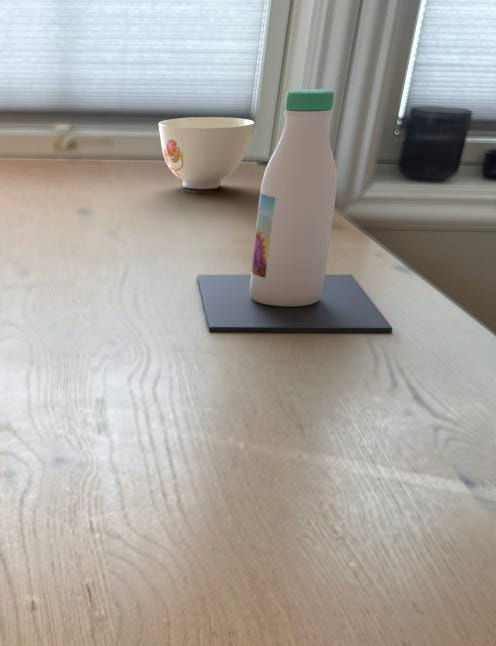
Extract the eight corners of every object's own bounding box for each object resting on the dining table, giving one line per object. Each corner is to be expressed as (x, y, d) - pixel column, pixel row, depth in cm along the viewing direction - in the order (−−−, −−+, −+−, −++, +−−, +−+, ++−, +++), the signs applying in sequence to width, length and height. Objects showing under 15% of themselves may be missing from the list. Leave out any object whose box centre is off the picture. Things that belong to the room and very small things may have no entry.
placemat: (391, 332, 97) (392, 327, 97) (208, 331, 99) (209, 327, 99) (350, 278, 116) (351, 274, 115) (196, 278, 117) (197, 274, 117)
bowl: (146, 181, 178) (149, 119, 172) (232, 177, 179) (237, 115, 173) (167, 196, 164) (171, 129, 159) (260, 191, 166) (266, 125, 160)
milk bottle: (330, 295, 108) (361, 87, 97) (307, 311, 102) (337, 94, 91) (263, 287, 111) (285, 86, 100) (237, 303, 106) (258, 92, 95)
